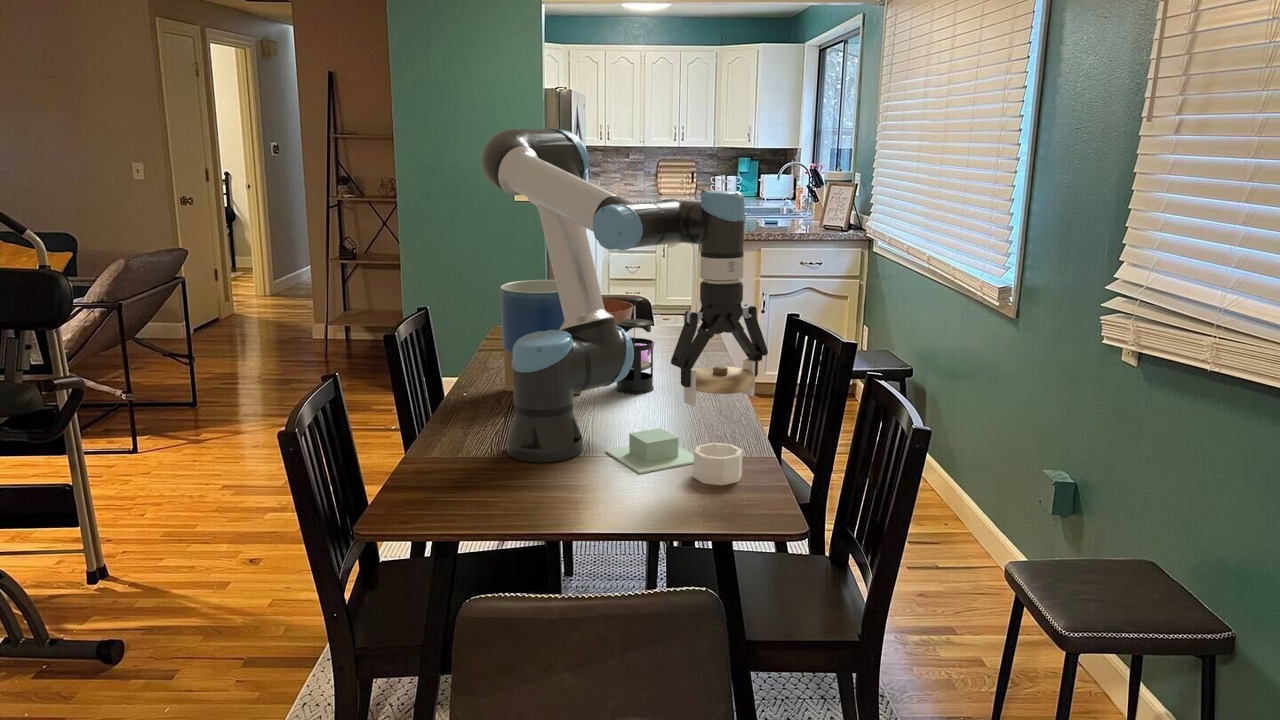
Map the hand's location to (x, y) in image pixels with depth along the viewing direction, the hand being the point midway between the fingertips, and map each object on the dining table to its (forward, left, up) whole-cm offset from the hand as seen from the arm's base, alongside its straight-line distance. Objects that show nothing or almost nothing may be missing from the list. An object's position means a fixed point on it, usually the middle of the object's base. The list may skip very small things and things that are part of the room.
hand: (719, 399), depth 167 cm
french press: (+16, +61, -15) cm, 65 cm away
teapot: (+25, +81, -15) cm, 86 cm away
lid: (0, 0, +3) cm, 3 cm away
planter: (-5, +69, -15) cm, 71 cm away
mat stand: (-5, +15, -15) cm, 22 cm away
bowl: (+30, +113, -15) cm, 118 cm away
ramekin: (0, 0, -15) cm, 15 cm away
